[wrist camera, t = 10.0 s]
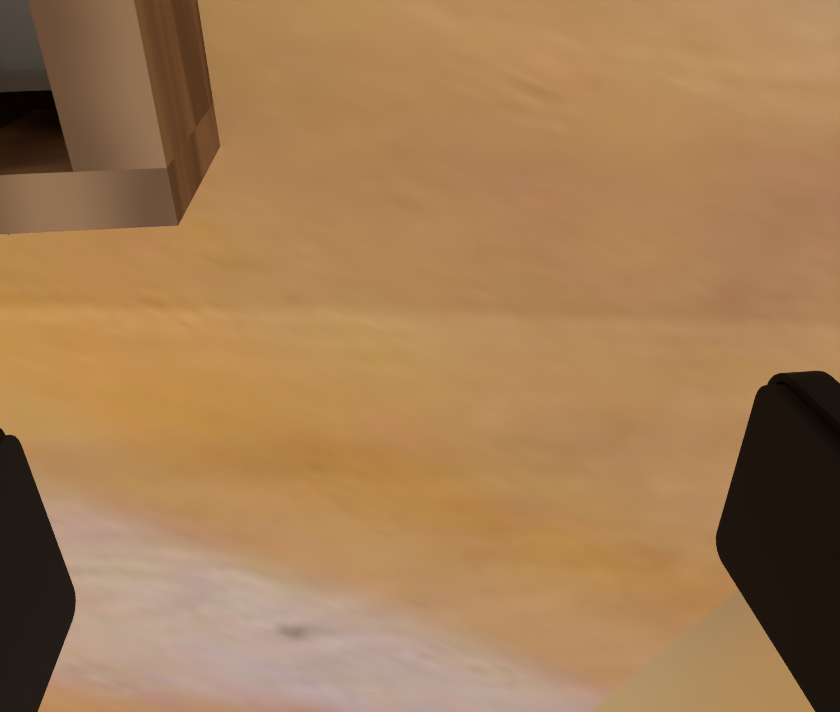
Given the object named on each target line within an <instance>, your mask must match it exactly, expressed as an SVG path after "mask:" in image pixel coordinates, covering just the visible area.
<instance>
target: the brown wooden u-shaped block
mask: <svg viewBox="0 0 840 712" xmlns="http://www.w3.org/2000/svg"><path fill="white" fill-rule="evenodd" d="M28 3H29V7H30V11H31V14H32V18H33V22H34V26H35V29H36V33H37V37H38V41H39V45H40V48H41V52H42V56H43V60H44V63H45V67H46V71H47V75H48V79H49V82H50V86H51V90H52V94H53V97H54V101H55V105H56V109H34V107H33V103H32V99H31V96H30V92H29V91H16V92H0V234H16V233H36V232H56V231H76V230H96V229H116V228H136V227H156V226H175V225H179V223H180V221H181V219H182V217H183V215H184V213H185V211H186V210H187V208H188V206H189V204H190V202H191V200H192V198H193V196H194V195H195V193H196V191H197V189H198V187H199V185H200V183H201V181H202V179H203V178H204V176H205V174H206V172H207V170H208V168H209V166H210V164H211V163H212V161H213V159H214V157H215V155H216V153H217V151H218V149H219V147H220V144H219V137H218V131H217V124H216V118H215V112H214V105H213V99H212V92H211V86H210V79H209V73H208V67H207V60H206V54H205V47H204V41H203V34H202V28H201V22H200V15H199V9H198V2H197V0H28Z"/></svg>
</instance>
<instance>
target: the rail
mask: <svg viewBox="0 0 840 712" xmlns="http://www.w3.org/2000/svg"><path fill="white" fill-rule="evenodd" d="M40 90H51V86H50V82H49V79H48V75H47V71H46V67H45V63H44V60H43V56H42V52H41V48H40V45H39V41H38V37H37V33H36V29H35V26H34V22H33V18H32V14H31V11H30V7H29V3H28V0H0V92H16V91H40Z"/></svg>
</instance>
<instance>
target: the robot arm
mask: <svg viewBox="0 0 840 712" xmlns="http://www.w3.org/2000/svg"><path fill="white" fill-rule="evenodd" d="M716 546H717V551H718V554H719V557H720V559H721V561H722V563H723V565H724V566H725V568H726V570H727V571H728V573H729V574H730V576H731V578H732V579H733V581H734V582H735V584H736V586H737V587H738V589H739V590H740V592H741V594H742V595H743V597H744V598H745V600H746V602H747V603H748V605H749V606H750V608H751V609H752V611H753V613H754V614H755V616H756V618H757V619H758V621H759V622H760V624H761V625H762V627H763V629H764V630H765V632H766V634H767V635H768V637H769V638H770V640H771V641H772V643H773V644H774V646H775V648H776V649H777V651H778V653H779V654H780V656H781V657H782V659H783V661H784V662H785V664H786V665H787V667H788V669H789V670H790V672H791V673H792V675H793V676H794V678H795V680H796V681H797V683H798V685H799V686H800V688H801V689H802V691H803V693H804V694H805V696H806V697H807V699H808V701H809V702H810V704H811V705H812V707H813V709H814V710H815V712H840V383H839V382H837V381H836V380H835V379H834V378H833V377H832V376H830V375H829V374H827V373H825V372H823V371H808V372H792V373H779V374H776V375H774V376H773V377H772V378H771V379H770V380H769V382H768V384H767V385H765V386H762V387H761V388H760V389H759V390H758V392H757V394H756V396H755V400H754V403H753V407H752V410H751V414H750V417H749V421H748V425H747V428H746V432H745V435H744V439H743V442H742V446H741V449H740V453H739V456H738V460H737V463H736V467H735V470H734V474H733V477H732V481H731V484H730V488H729V491H728V495H727V498H726V502H725V505H724V509H723V512H722V516H721V519H720V523H719V527H718V530H717V535H716ZM75 602H76V599H75V591H74V587H73V584H72V581H71V579H70V576H69V573H68V571H67V568H66V565H65V562H64V560H63V557H62V554H61V551H60V549H59V546H58V543H57V541H56V538H55V535H54V532H53V530H52V527H51V524H50V522H49V519H48V516H47V513H46V511H45V508H44V505H43V503H42V500H41V497H40V494H39V492H38V489H37V486H36V484H35V481H34V478H33V475H32V473H31V470H30V467H29V465H28V462H27V459H26V456H25V454H24V451H23V448H22V446H21V444H20V442H19V440H18V439H17V438H16V437H15V436H13V435H5V434H4V432H3V430H2V429H1V428H0V712H38V709H39V706H40V704H41V701H42V699H43V696H44V693H45V691H46V688H47V686H48V683H49V680H50V678H51V675H52V672H53V670H54V667H55V665H56V662H57V659H58V657H59V654H60V652H61V649H62V646H63V644H64V641H65V638H66V636H67V633H68V631H69V628H70V625H71V623H72V620H73V616H74V612H75Z"/></svg>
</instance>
